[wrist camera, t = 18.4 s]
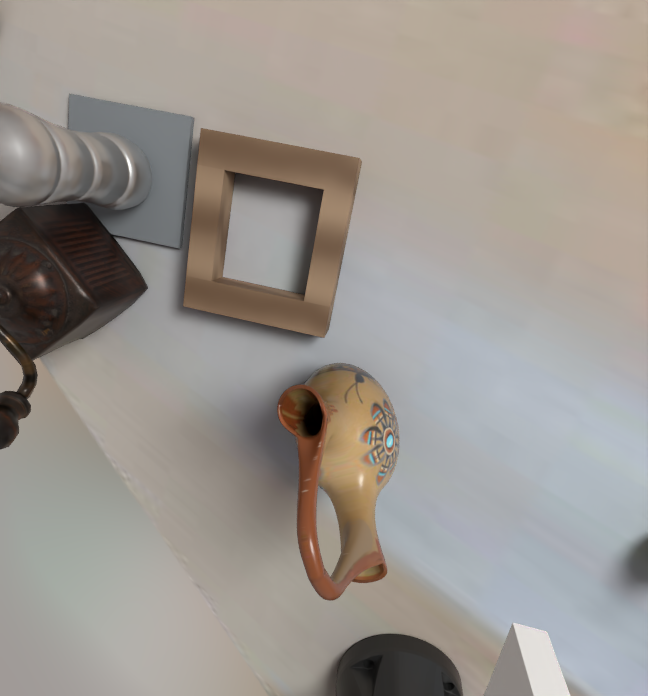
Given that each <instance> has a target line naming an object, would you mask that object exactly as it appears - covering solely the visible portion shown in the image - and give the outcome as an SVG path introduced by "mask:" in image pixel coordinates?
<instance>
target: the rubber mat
mask: <svg viewBox="0 0 648 696" xmlns="http://www.w3.org/2000/svg"><path fill="white" fill-rule="evenodd" d="M193 125H194V118H193V117H190V116H185V115H180V114H174V113H169V112H164V111H159V110H153V109H148V108H143V107H137V106H132V105H127V104H121V103H116V102H111V101H105V100H100V99H95V98H89V97H84V96H79V95H73V94H69V126H68V129H70V130H73V131H80V132H88V133H93V132H109V133H115V134H118V135H120V136H123V137H125V138H126V139H128V140H129V141H131V142H132V143H134V144H135V145H137V146H138V147H139V148H140V149H141V150H142V152H143V153H144V154H145V156H146V157H147V159H148V161H149V164H150V167H151V172H152V184H151V189H150V191H149V193H148V195H147V197H146V198H145V200H143V201H142V202H141V203H140V204H138V205H136V206H134V207H131V208H127V209H123V210H113V209H109V208H104V207H101V206H98V205H96V204H93V203H87V202H83V203H86V204H87V205H88V207H89V208H90V209H91V210H92V212H93V213H94V214H95V215H96V216H97V218H98V219H99V220H100V221H101V223H102V224H103V225H104V226H105V227H106V229H107V230H108V231H109V232H110V234H113V235H118V236H123V237H128V238H132V239H137V240H142V241H146V242H151V243H156V244H161V245H165V246H170V247H175V248H182V240H183V230H184V219H185V209H186V198H187V188H188V178H189V167H190V157H191V146H192V136H193ZM76 203H82V202H81V201H67V204H76Z"/></svg>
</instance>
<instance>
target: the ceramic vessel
mask: <svg viewBox="0 0 648 696" xmlns="http://www.w3.org/2000/svg"><path fill="white" fill-rule="evenodd" d="M277 413H278V417H279V420H280V422H281V423H282V425H283V426H284V427H285V428H286V429H287V430H288V431H289V432H290V433H292V434H293V435H294V436H295V440H296V445H297V449H298V458H299V483H298V503H297V537H298V544H299V549H300V553H301V557H302V560H303V564H304V567H305V570H306V573H307V576H308V579H309V581H310V582H311V584H312V586H313V587H314V589H315V590H316V592H317V593H318V594H319V595H320V596H321V597H322V598H323V599H325V600H335V599H337V598H338V597H340V596H341V594H342V593H343V592H344V590H345V589H346V587H347V586H348V585H349V584H350V582H351V581H353V582H358V583H369V582H374V581H377V580H380V579H382V578H383V577H385V575H386V574H387V566H386V562H385V559H384V556H383V553H382V550H381V546H380V543H379V539H378V535H377V530H376V524H375V506H376V500H377V497H378V495H379V493H380V491H381V490H382V489H383V488H384V486H385V485H386V484H387V482H388V481H389V479H390V478H391V476H392V474H393V472H394V469H395V466H396V463H397V459H398V453H399V429H398V423H397V419H396V415H395V412H394V409H393V406H392V404H391V402H390V400H389V398H388V396H387V394H386V393H385V391H384V390H383V388H382V387H381V385H380V384H379V383H378V382H377V381H376V380H375V379H374V378H373V377H372V376H371V375H370V374H368V373H367V372H366V371H364V370H362V369H361V368H359V367H356V366H354V365H351V364H346V363H334V364H329V365H326V366H324V367H322V368H320V369H318V370H317V371H316V372H314V373H313V374H312V375H311V376H310V377H309V378H308V380H307V381H306V382H305V384H304V385H295V386H292V387H290V388H288V389H287V390H286V391H285V392H284V393H283V394H282V395H281V397H280V399H279V402H278V406H277ZM318 485H319V486H320V487H321V488H322V489H323V490H324V491H325V492H326V493H327V494H328V496H329V497H330V499H331V501H332V503H333V506H334V508H335V512H336V515H337V519H338V524H339V530H340V540H341V555H340V558H339V560H338V563H337V565H336V567H335V570H334V572H333V573H332V575H331V577H330V576H329V574H328V573H327V571H326V570H325V568H324V565H323V562H322V558H321V554H320V549H319V544H318V538H317V527H316V504H317V491H318Z"/></svg>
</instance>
